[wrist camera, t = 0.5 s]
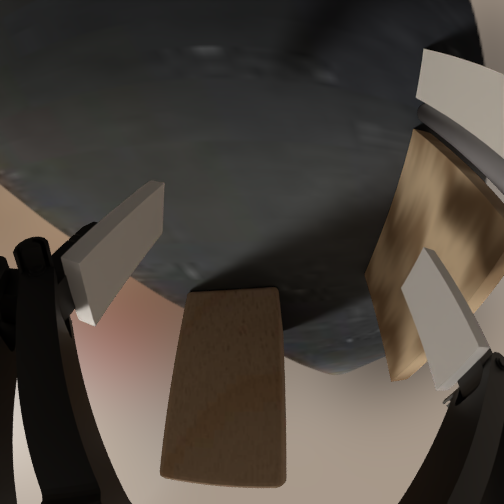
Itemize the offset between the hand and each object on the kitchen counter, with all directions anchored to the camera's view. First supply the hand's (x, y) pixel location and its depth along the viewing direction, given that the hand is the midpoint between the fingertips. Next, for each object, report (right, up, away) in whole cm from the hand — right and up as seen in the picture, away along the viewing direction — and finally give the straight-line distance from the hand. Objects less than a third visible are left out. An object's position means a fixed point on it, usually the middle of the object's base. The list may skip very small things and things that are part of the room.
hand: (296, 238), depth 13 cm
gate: (+11, +3, +9) cm, 15 cm away
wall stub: (+11, +12, +1) cm, 16 cm away
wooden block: (-4, -8, +20) cm, 22 cm away
